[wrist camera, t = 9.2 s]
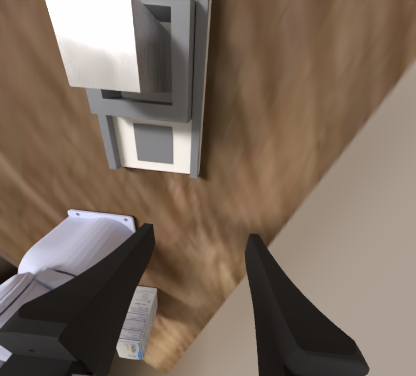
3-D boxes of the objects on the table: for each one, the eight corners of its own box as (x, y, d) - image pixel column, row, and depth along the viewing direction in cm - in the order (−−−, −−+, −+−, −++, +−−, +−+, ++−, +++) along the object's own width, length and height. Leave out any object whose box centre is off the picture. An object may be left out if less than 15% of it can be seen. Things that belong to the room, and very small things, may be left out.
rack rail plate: (117, 162, 20) (97, 176, 17) (57, -145, 10) (-20, -257, 7) (199, 172, 20) (195, 187, 17) (220, -131, 10) (220, -238, 7)
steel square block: (129, 88, 15) (70, 85, 9) (121, 30, 13) (40, -20, 7) (172, 92, 15) (140, 92, 9) (170, 34, 13) (129, -13, 7)
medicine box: (136, 284, 33) (111, 339, 26) (158, 287, 33) (140, 343, 26) (138, 304, 37) (118, 357, 30) (158, 307, 37) (142, 361, 30)
